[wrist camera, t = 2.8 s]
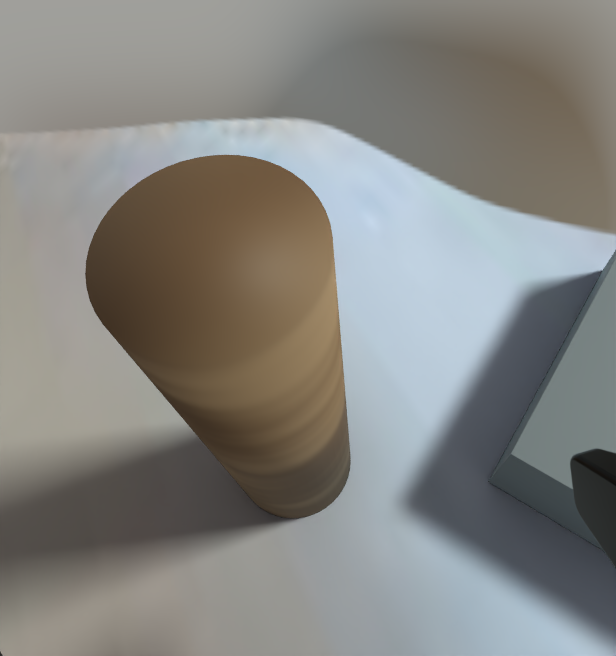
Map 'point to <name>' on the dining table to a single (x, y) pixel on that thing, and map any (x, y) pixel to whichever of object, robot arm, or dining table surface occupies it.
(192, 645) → the dining table surface
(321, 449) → the walnut dowel
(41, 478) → the dining table surface
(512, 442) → the socket block
